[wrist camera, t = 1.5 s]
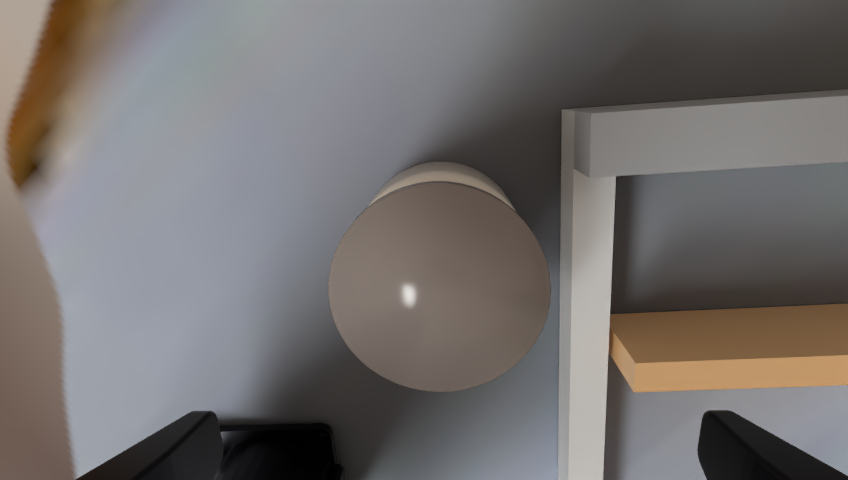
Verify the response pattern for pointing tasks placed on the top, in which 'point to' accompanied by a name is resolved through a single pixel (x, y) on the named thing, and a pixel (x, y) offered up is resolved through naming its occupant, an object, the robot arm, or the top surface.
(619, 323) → the bar
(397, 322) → the jar
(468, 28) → the top surface
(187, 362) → the top surface
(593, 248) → the lane
